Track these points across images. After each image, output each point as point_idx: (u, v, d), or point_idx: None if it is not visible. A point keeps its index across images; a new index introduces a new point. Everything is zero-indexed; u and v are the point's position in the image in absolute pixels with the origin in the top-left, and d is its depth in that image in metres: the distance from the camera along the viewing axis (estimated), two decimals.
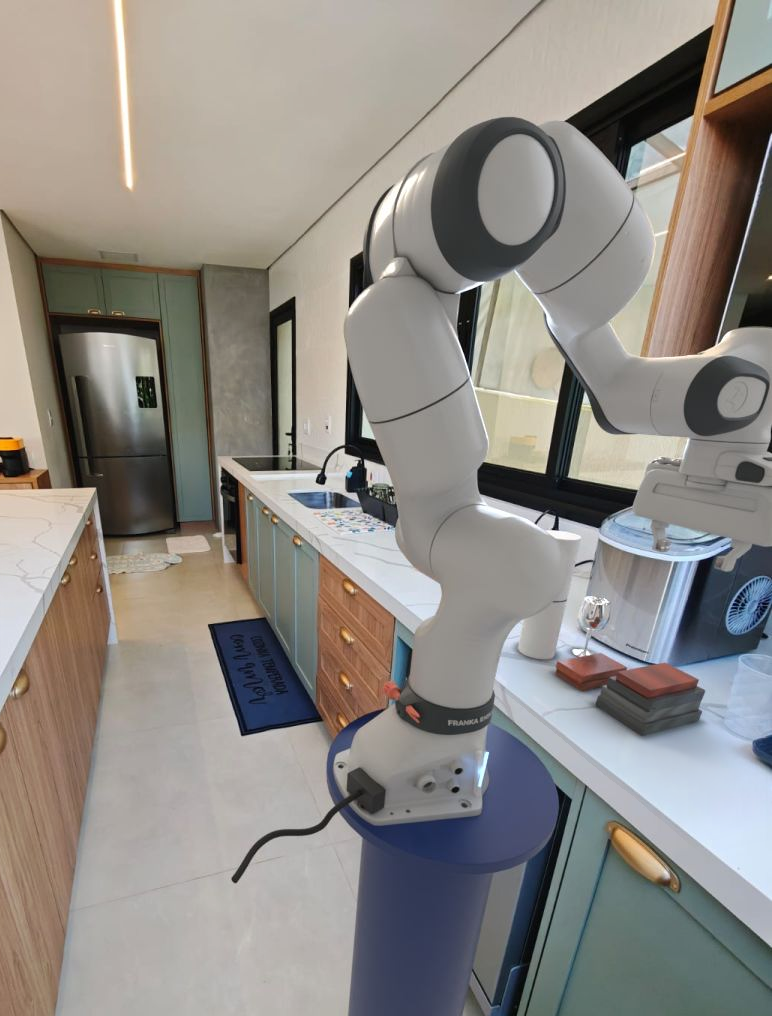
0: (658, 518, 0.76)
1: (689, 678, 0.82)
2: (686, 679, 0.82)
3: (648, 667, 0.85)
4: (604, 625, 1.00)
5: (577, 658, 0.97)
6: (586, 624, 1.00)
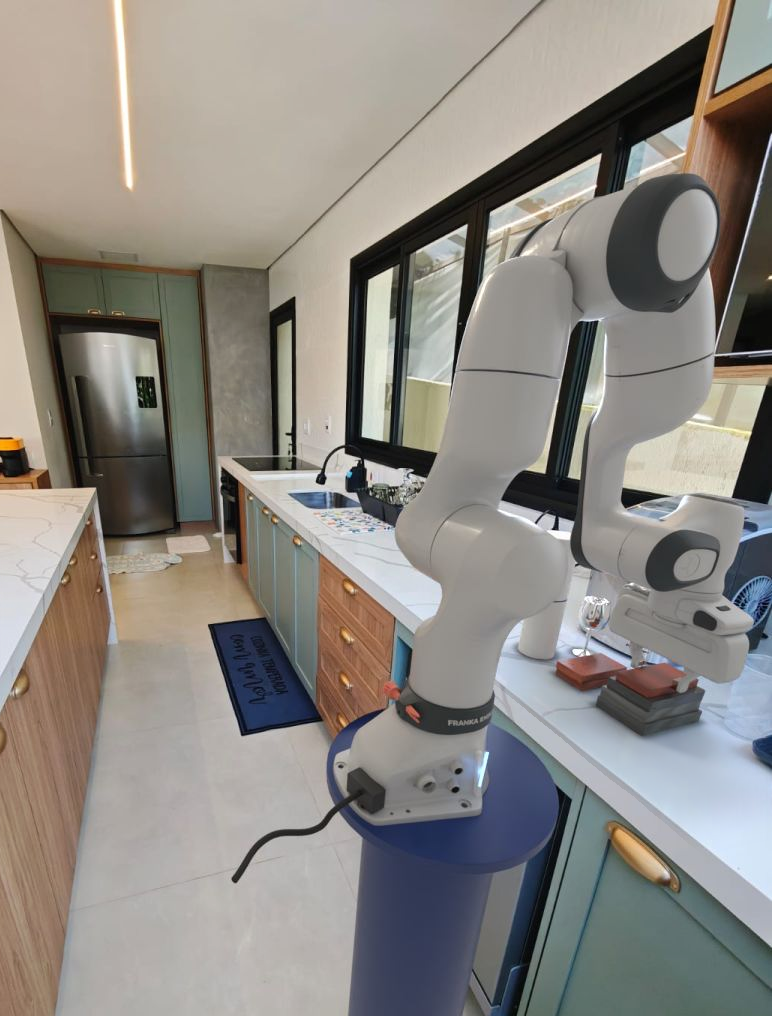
0: (630, 639, 0.85)
1: None
2: None
3: (648, 667, 0.85)
4: (604, 625, 1.00)
5: (577, 658, 0.97)
6: (586, 624, 1.00)
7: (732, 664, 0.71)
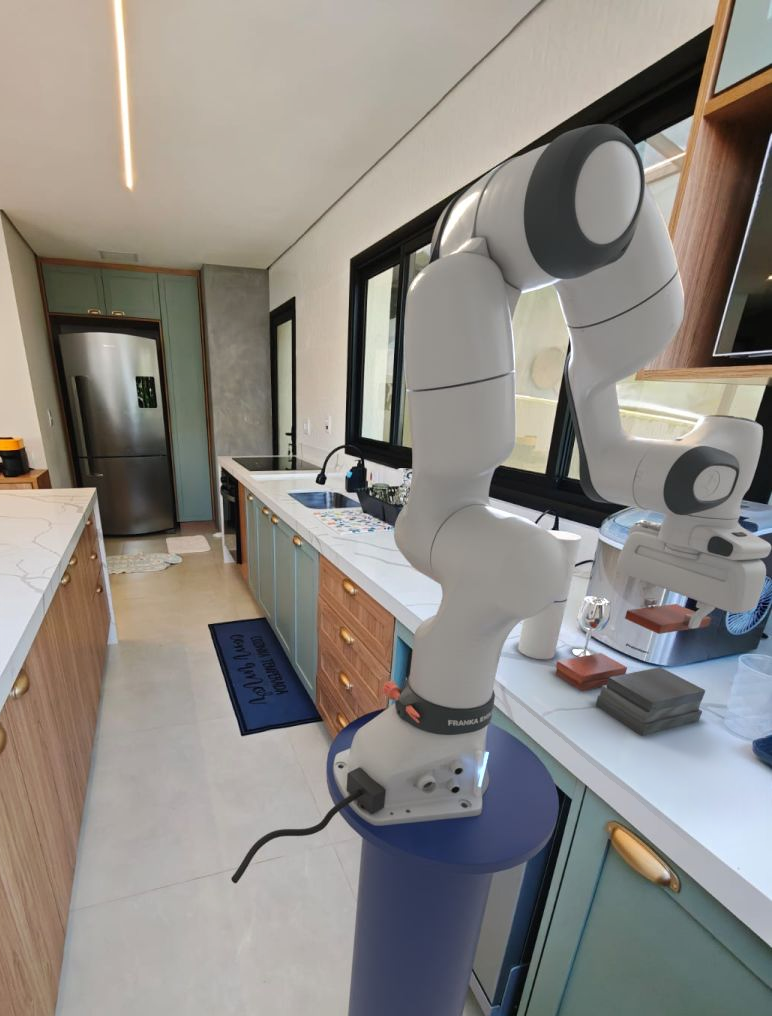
0: (640, 577, 0.82)
1: None
2: None
3: (658, 607, 0.82)
4: (604, 625, 1.00)
5: (577, 658, 0.97)
6: (586, 624, 1.00)
7: (748, 591, 0.68)
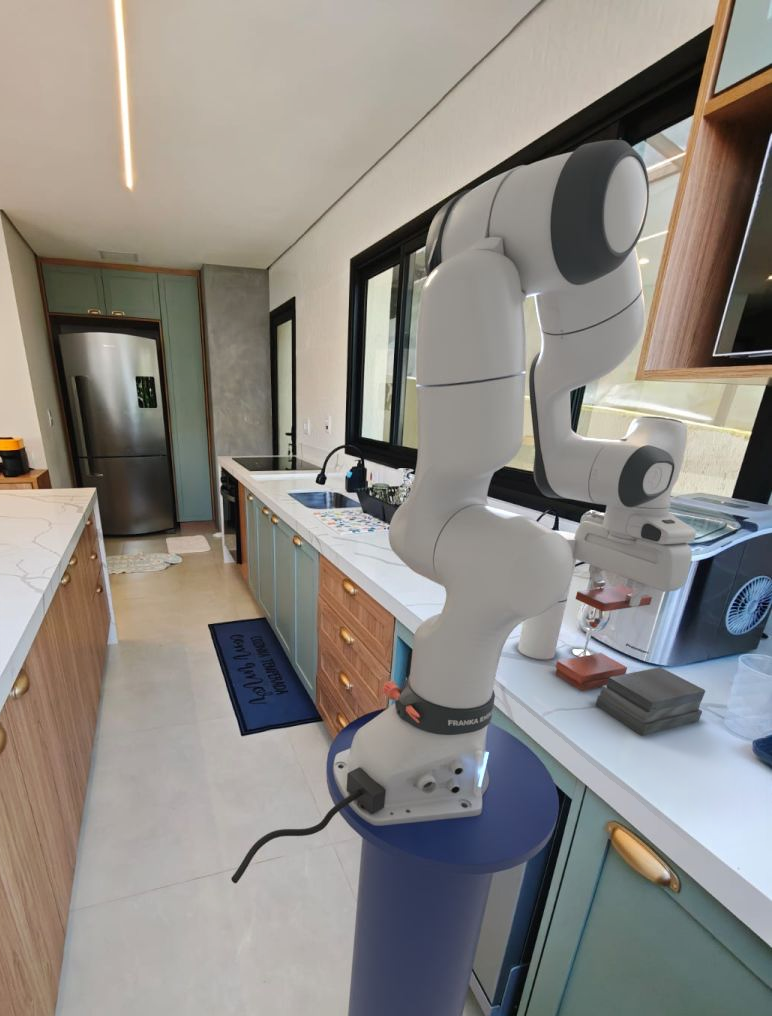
0: (589, 562, 0.91)
1: (642, 596, 0.88)
2: None
3: (606, 588, 0.91)
4: (604, 625, 1.00)
5: (577, 658, 0.97)
6: (586, 624, 1.00)
7: (675, 571, 0.77)
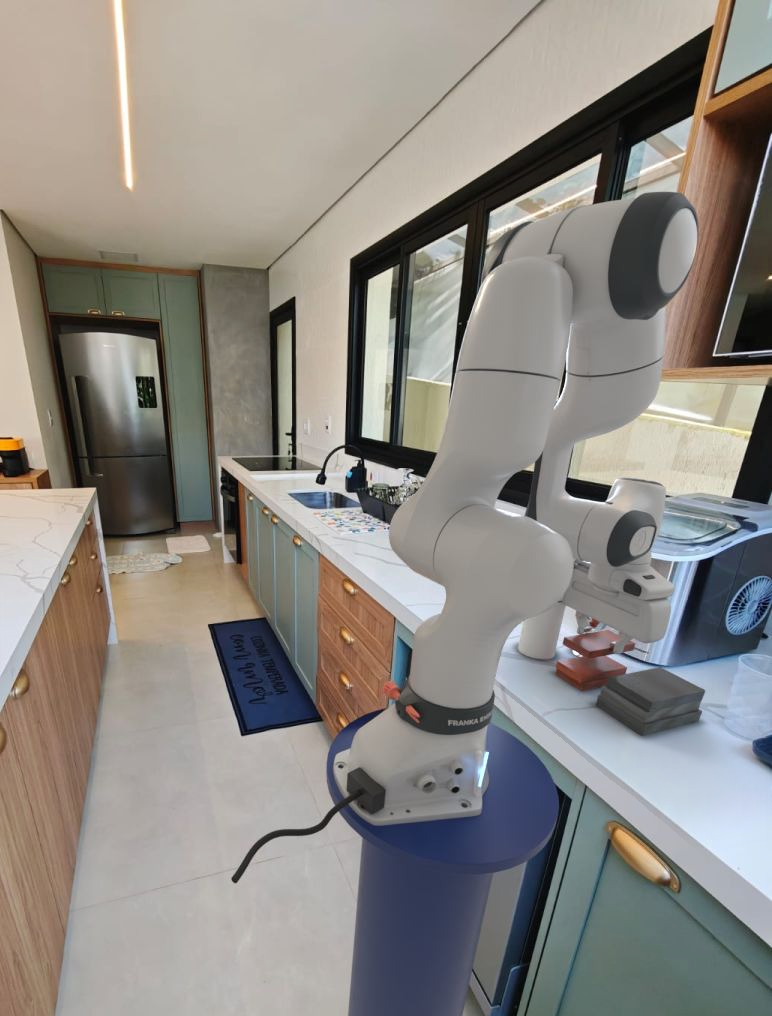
0: (575, 608, 0.95)
1: None
2: None
3: (592, 633, 0.95)
4: (604, 625, 1.00)
5: (577, 658, 0.97)
6: None
7: (655, 625, 0.81)
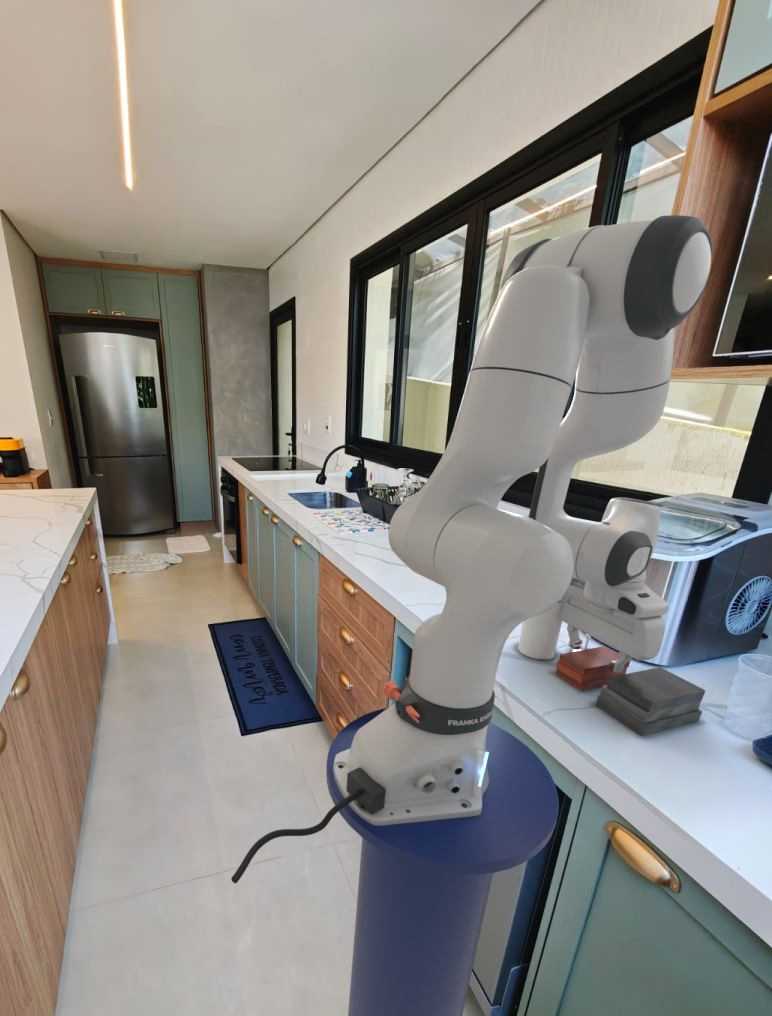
0: (571, 624, 0.96)
1: None
2: None
3: (588, 650, 0.97)
4: None
5: None
6: None
7: (649, 643, 0.82)
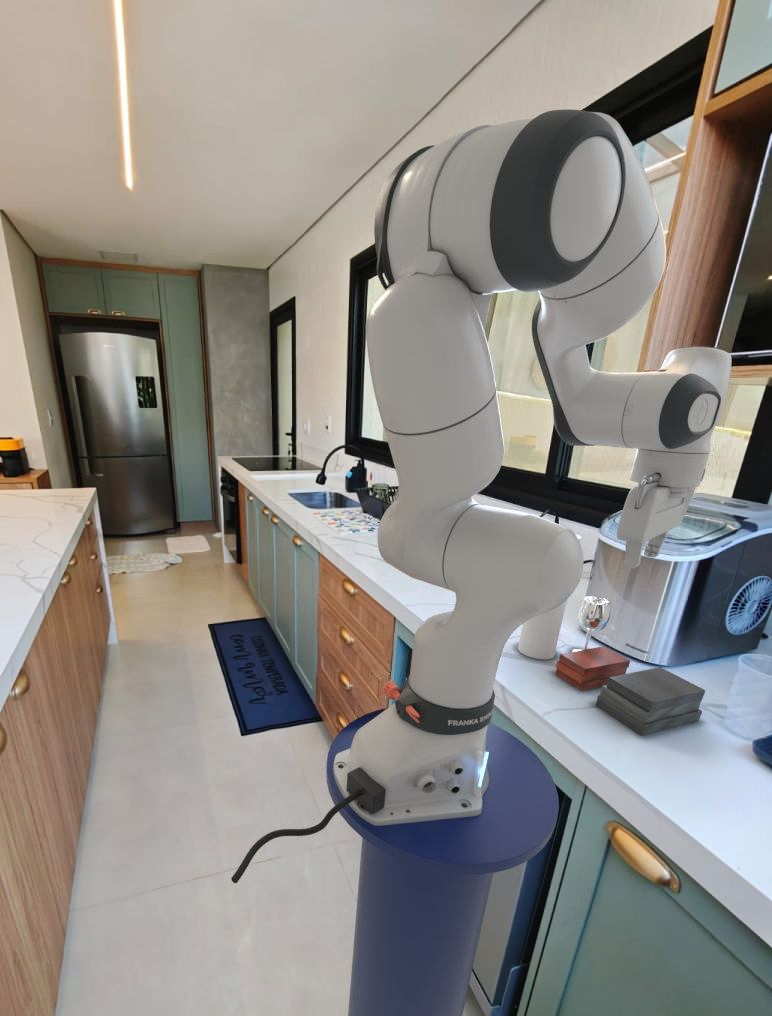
0: (652, 536, 0.73)
1: (621, 659, 0.93)
2: (619, 660, 0.93)
3: (588, 650, 0.97)
4: (604, 625, 1.00)
5: None
6: (586, 624, 1.00)
7: None
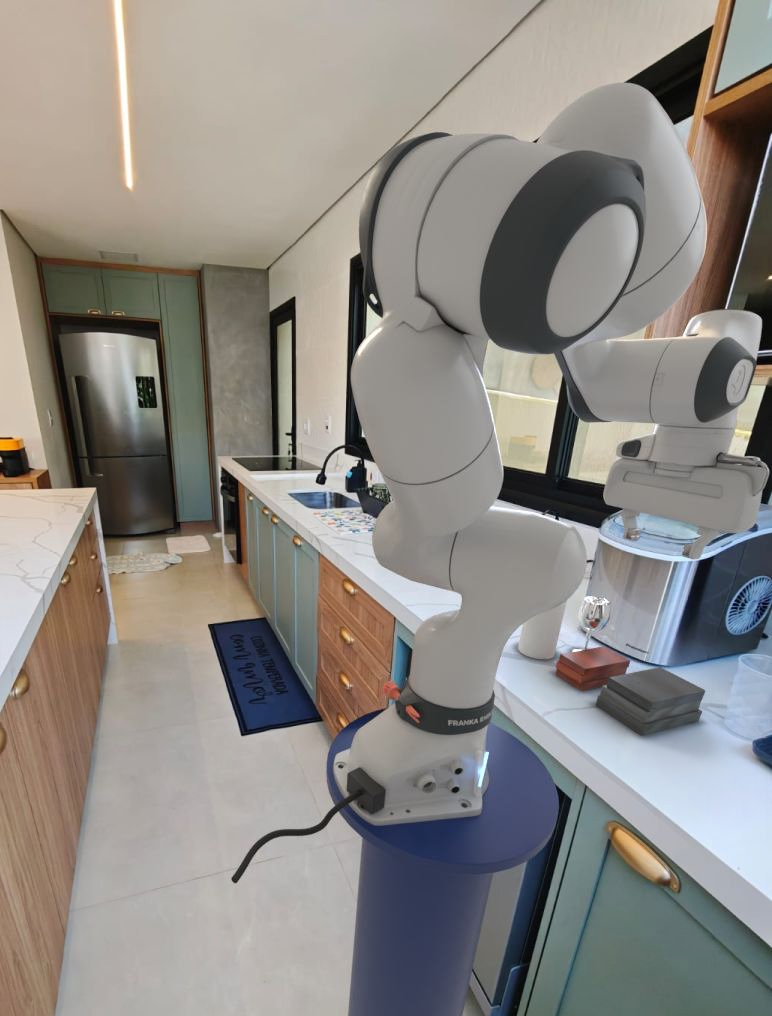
0: None
1: (621, 659, 0.93)
2: (619, 660, 0.93)
3: (588, 650, 0.97)
4: (604, 625, 1.00)
5: None
6: (586, 624, 1.00)
7: None
